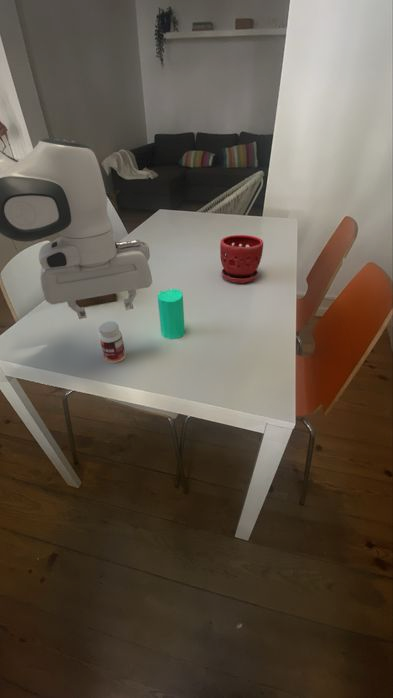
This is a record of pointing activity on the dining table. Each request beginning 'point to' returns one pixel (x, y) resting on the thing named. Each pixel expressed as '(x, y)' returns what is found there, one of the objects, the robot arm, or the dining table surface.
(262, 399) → the dining table surface
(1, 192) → the robot arm
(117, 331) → the pill bottle
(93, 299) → the walnut box
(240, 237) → the flower pot
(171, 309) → the candle
